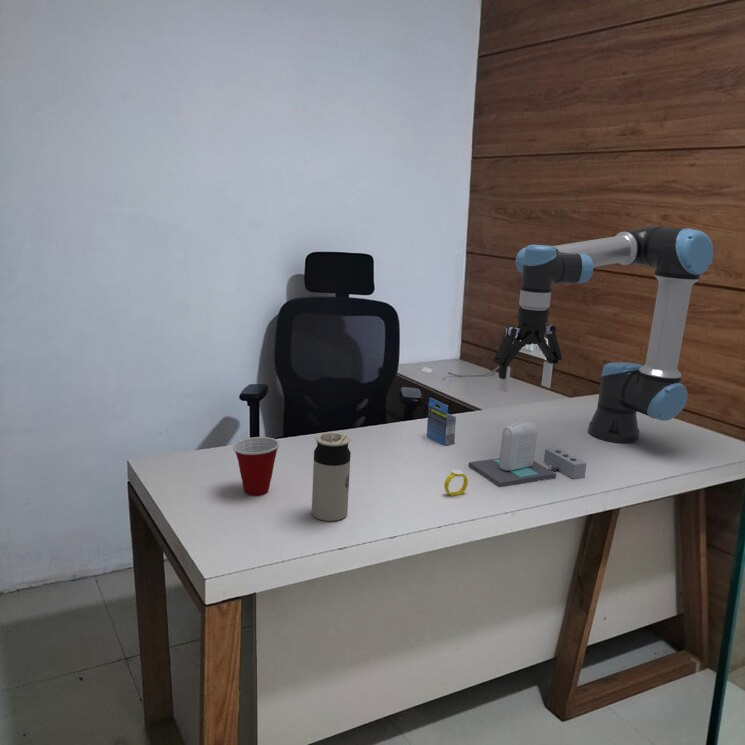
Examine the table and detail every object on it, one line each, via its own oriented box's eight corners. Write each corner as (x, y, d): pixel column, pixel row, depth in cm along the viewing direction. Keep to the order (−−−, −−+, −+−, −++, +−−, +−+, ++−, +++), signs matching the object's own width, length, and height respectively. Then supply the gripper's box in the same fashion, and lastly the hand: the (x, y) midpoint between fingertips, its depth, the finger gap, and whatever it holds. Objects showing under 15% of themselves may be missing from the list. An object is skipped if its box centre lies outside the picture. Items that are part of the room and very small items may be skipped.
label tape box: (454, 444, 207) (458, 403, 204) (444, 446, 204) (447, 405, 201) (435, 434, 214) (439, 395, 211) (425, 436, 211) (428, 397, 208)
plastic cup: (237, 480, 173) (237, 433, 170) (281, 482, 173) (282, 436, 170) (227, 499, 163) (227, 449, 160) (274, 502, 163) (275, 453, 160)
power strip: (554, 460, 198) (556, 446, 197) (584, 477, 188) (586, 462, 187) (529, 464, 194) (530, 450, 193) (558, 481, 184) (560, 466, 183)
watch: (461, 491, 175) (465, 468, 174) (467, 495, 173) (471, 472, 172) (441, 493, 172) (444, 470, 171) (447, 497, 170) (451, 474, 169)
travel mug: (305, 517, 156) (308, 440, 152) (320, 503, 163) (323, 429, 159) (338, 525, 154) (342, 447, 149) (352, 510, 161) (356, 435, 156)
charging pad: (522, 458, 198) (523, 454, 198) (555, 478, 186) (556, 473, 186) (468, 466, 190) (469, 461, 190) (499, 487, 178) (499, 481, 178)
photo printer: (523, 460, 193) (529, 417, 190) (535, 466, 190) (541, 422, 186) (496, 467, 187) (500, 422, 184) (507, 472, 184) (512, 427, 181)
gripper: (562, 303, 187) (553, 381, 193) (484, 306, 176) (476, 388, 182) (582, 308, 181) (572, 388, 186) (502, 311, 170) (493, 396, 175)
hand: (525, 388), depth 184 cm, fingers open, 13 cm apart
